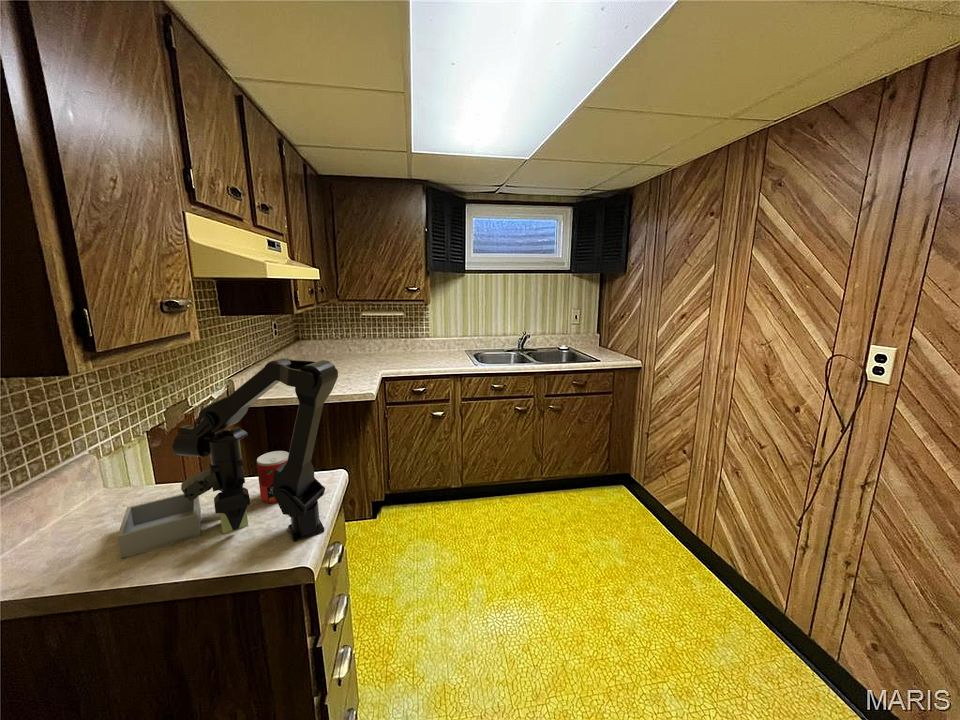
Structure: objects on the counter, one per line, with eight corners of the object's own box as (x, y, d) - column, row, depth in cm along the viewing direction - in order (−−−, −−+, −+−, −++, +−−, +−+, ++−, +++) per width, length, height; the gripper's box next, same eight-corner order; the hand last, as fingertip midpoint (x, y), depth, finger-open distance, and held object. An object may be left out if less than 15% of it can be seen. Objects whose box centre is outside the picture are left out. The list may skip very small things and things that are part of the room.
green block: (248, 525, 89) (245, 502, 87) (222, 533, 86) (219, 509, 85) (246, 515, 93) (243, 492, 91) (221, 522, 90) (218, 499, 89)
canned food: (269, 507, 96) (265, 466, 94) (255, 497, 101) (250, 457, 99) (299, 494, 102) (295, 455, 100) (284, 485, 107) (280, 448, 105)
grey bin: (200, 535, 85) (197, 514, 84) (121, 559, 78) (117, 536, 77) (200, 508, 95) (197, 490, 94) (130, 527, 88) (127, 507, 87)
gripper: (182, 451, 89) (192, 512, 92) (178, 484, 74) (190, 556, 77) (239, 440, 95) (246, 498, 98) (246, 468, 80) (254, 535, 83)
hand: (234, 520), depth 89 cm, fingers open, 8 cm apart
